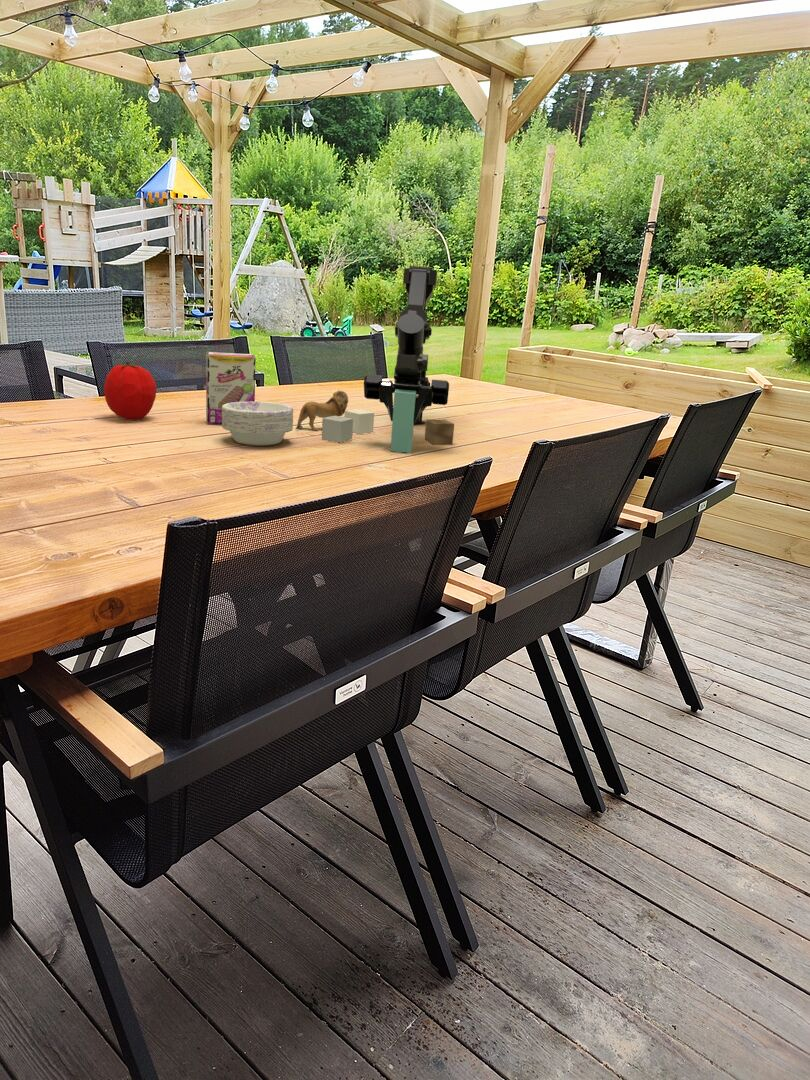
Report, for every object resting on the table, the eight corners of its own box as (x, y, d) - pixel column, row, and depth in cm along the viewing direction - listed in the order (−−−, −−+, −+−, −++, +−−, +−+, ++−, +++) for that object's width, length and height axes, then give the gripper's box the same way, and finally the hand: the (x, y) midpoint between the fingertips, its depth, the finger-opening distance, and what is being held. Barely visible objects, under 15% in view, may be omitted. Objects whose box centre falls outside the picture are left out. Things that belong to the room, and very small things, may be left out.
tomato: (102, 423, 174) (98, 364, 170) (108, 413, 185) (105, 357, 181) (156, 424, 177) (153, 366, 173) (158, 414, 188) (157, 359, 184)
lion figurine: (339, 424, 193) (340, 388, 190) (352, 428, 189) (353, 392, 186) (289, 429, 184) (290, 391, 181) (302, 433, 180) (303, 394, 177)
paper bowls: (250, 431, 178) (250, 397, 175) (305, 441, 172) (306, 406, 169) (207, 441, 165) (206, 404, 162) (265, 453, 159) (265, 415, 156)
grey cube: (333, 436, 179) (334, 415, 177) (351, 440, 177) (352, 418, 175) (321, 440, 175) (322, 418, 173) (340, 443, 173) (341, 421, 171)
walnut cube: (443, 440, 185) (445, 419, 183) (452, 444, 180) (454, 423, 179) (424, 440, 183) (426, 419, 181) (433, 445, 178) (434, 423, 177)
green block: (391, 447, 172) (395, 389, 168) (411, 449, 172) (416, 390, 168) (390, 451, 168) (394, 392, 164) (410, 453, 168) (415, 393, 164)
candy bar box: (207, 425, 181) (206, 354, 175) (206, 421, 185) (205, 351, 180) (255, 425, 184) (256, 355, 179) (252, 421, 189) (253, 353, 183)
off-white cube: (358, 429, 190) (359, 409, 188) (373, 433, 186) (374, 412, 185) (343, 431, 186) (344, 410, 184) (358, 435, 183) (359, 414, 181)
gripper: (367, 336, 166) (358, 395, 160) (452, 343, 166) (448, 402, 159) (368, 369, 176) (360, 425, 170) (449, 375, 176) (445, 432, 169)
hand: (403, 421), depth 167 cm, fingers closed on green block, 4 cm apart
